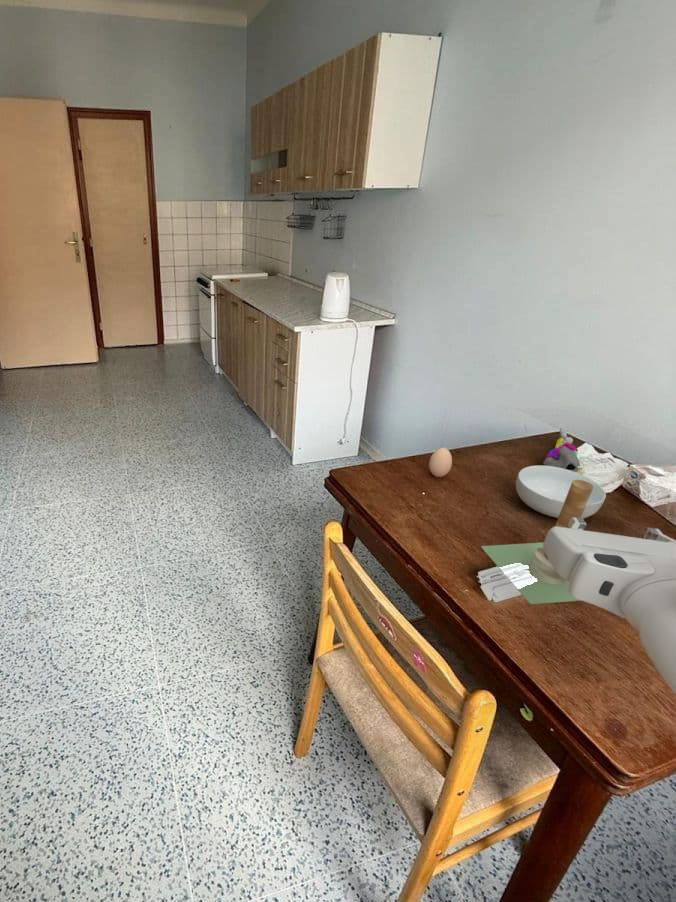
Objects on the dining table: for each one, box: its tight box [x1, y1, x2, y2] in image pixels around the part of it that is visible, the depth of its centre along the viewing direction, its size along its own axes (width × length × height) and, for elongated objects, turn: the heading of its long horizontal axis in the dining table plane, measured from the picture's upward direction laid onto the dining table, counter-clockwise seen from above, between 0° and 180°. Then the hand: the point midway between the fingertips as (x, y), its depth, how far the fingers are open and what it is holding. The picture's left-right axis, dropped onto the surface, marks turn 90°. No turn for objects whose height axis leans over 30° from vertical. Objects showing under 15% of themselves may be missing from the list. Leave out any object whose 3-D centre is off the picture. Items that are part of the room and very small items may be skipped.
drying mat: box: [480, 541, 581, 605], centre depth 91 cm, size 18×16×1 cm
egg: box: [428, 447, 453, 478], centre depth 121 cm, size 5×5×8 cm
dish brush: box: [529, 480, 593, 585], centre depth 85 cm, size 6×6×20 cm
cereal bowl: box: [515, 465, 607, 519], centre depth 108 cm, size 17×17×7 cm
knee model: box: [542, 427, 587, 476], centre depth 127 cm, size 9×8×25 cm
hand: (611, 526), depth 70 cm, fingers open, 8 cm apart
